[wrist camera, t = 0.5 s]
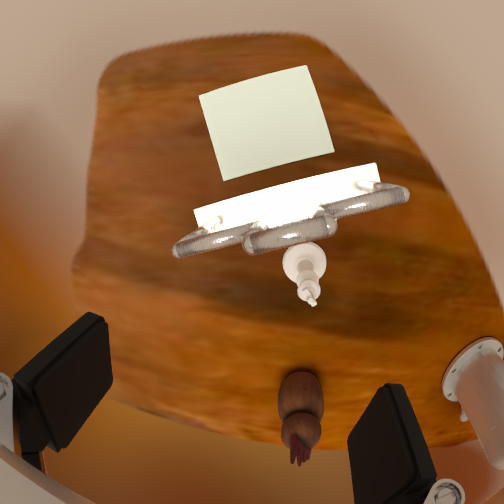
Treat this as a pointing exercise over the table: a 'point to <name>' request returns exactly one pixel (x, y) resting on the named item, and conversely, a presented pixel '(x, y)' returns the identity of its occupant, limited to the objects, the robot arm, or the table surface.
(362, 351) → the table surface
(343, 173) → the silver metal frame stand
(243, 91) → the pad
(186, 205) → the table surface
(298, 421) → the wooden figurine
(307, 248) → the chess piece
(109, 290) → the table surface
